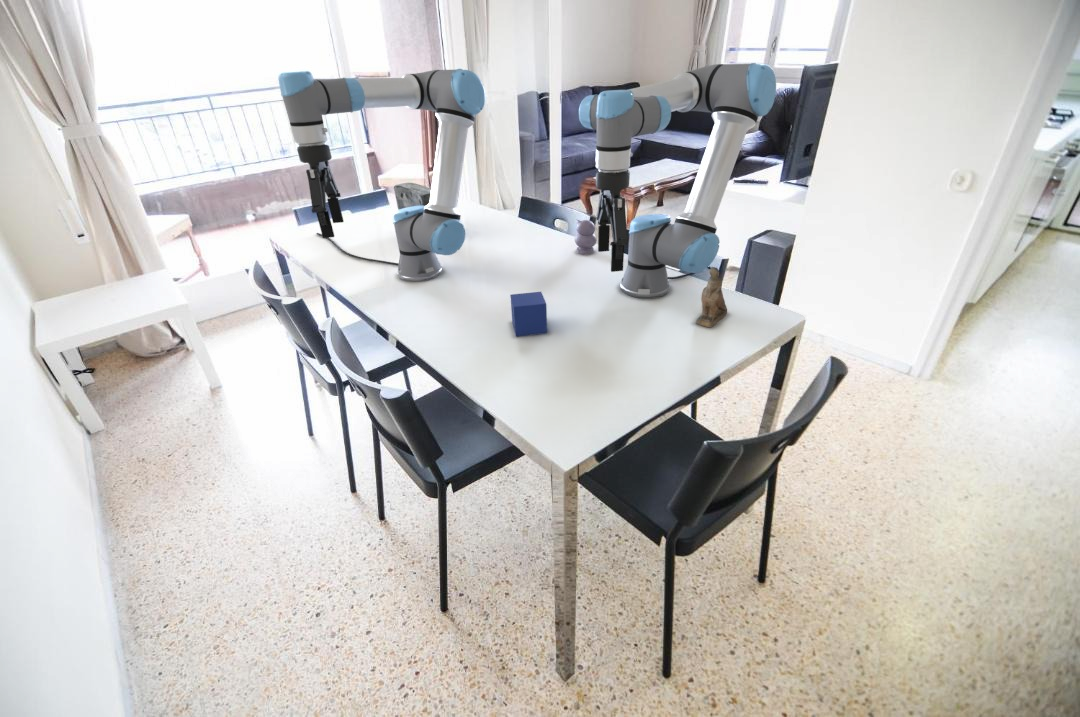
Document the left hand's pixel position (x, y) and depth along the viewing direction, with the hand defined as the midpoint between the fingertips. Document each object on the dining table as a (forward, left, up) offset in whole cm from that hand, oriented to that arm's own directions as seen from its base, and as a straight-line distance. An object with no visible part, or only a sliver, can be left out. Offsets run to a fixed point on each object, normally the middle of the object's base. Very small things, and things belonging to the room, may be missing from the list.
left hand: (333, 229), depth 133 cm
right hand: (+73, +12, -6) cm, 74 cm away
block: (+51, +10, -27) cm, 59 cm away
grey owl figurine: (+48, +74, -27) cm, 92 cm away
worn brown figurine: (+98, +31, -27) cm, 106 cm away
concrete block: (-25, +75, -27) cm, 83 cm away
